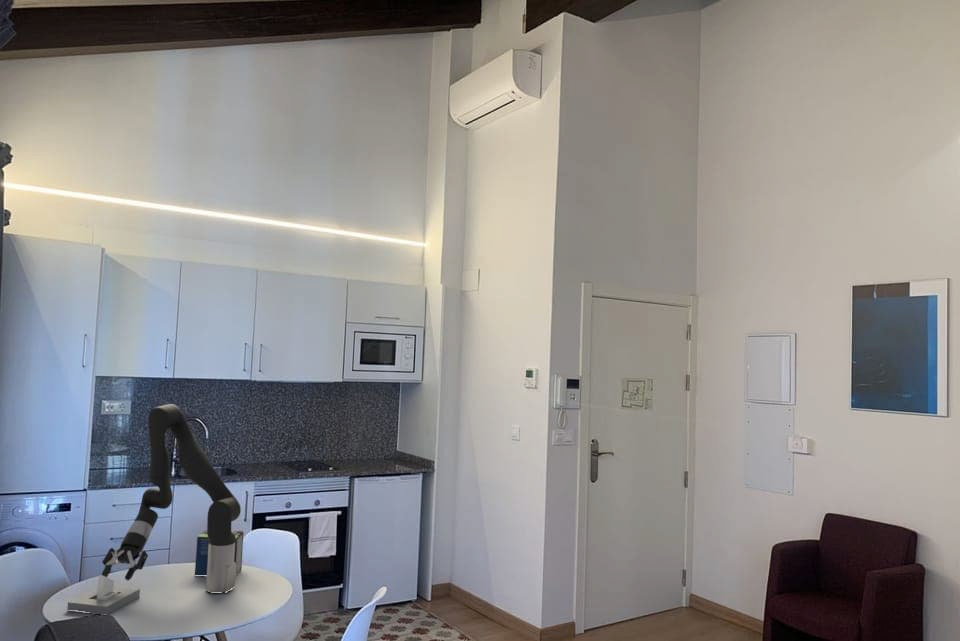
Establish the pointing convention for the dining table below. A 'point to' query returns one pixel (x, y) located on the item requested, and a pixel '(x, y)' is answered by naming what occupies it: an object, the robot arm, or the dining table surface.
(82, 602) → the socket plate
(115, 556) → the robot arm
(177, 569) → the dining table surface
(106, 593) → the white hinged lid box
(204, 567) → the protein box
